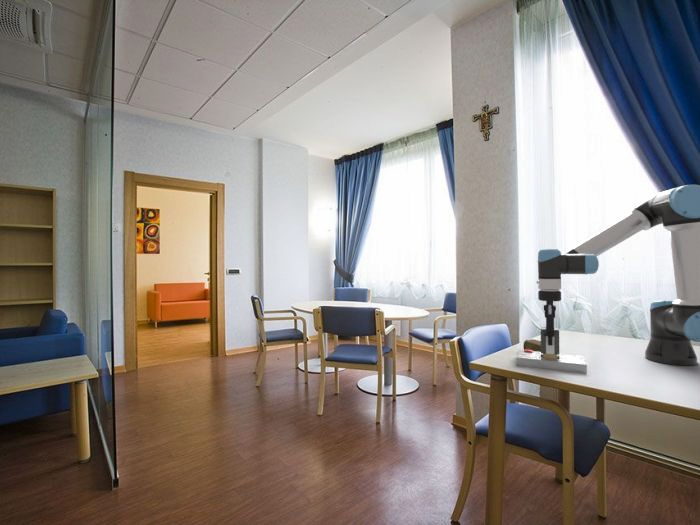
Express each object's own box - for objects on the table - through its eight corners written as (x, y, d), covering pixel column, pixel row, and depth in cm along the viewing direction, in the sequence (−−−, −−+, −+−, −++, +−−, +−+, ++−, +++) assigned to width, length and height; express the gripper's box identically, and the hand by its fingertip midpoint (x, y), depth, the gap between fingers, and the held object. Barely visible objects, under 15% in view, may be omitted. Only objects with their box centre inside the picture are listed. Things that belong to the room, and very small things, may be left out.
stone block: (533, 349, 160) (533, 338, 160) (554, 356, 149) (554, 344, 148) (522, 350, 158) (522, 339, 158) (543, 357, 147) (543, 345, 147)
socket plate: (583, 363, 137) (583, 354, 137) (586, 373, 125) (586, 362, 125) (518, 357, 147) (518, 348, 147) (516, 365, 136) (516, 355, 136)
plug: (558, 358, 137) (558, 328, 137) (559, 361, 133) (559, 330, 133) (541, 356, 140) (540, 326, 140) (540, 359, 135) (540, 329, 135)
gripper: (538, 288, 146) (539, 345, 146) (537, 291, 130) (538, 356, 130) (560, 288, 142) (560, 347, 142) (562, 292, 126) (562, 359, 126)
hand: (550, 351), depth 136 cm, fingers closed on plug, 5 cm apart
